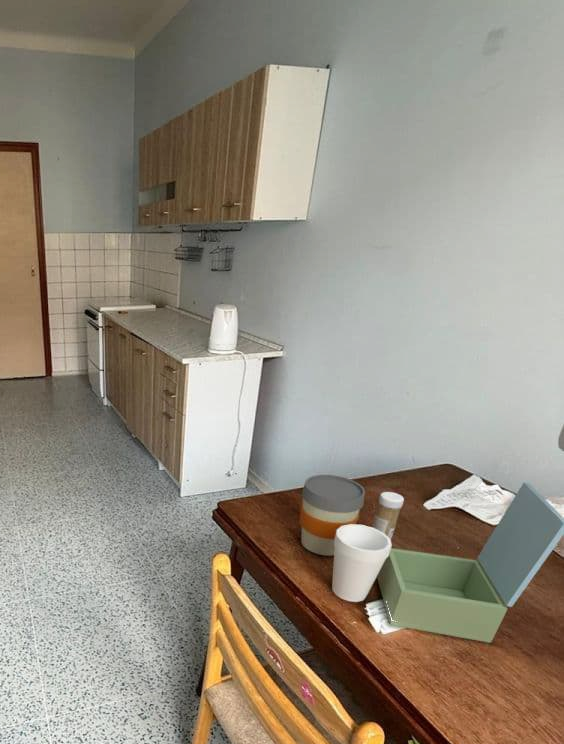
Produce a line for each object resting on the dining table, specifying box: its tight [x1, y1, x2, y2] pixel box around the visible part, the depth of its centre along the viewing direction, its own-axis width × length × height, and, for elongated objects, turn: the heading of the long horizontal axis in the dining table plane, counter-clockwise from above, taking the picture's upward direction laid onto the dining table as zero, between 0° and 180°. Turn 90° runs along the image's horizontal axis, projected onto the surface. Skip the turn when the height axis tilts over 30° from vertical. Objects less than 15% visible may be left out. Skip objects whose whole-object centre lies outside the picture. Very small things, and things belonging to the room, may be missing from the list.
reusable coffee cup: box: [299, 474, 366, 557], centre depth 106 cm, size 12×13×15 cm
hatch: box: [477, 481, 564, 608], centre depth 80 cm, size 17×14×1 cm
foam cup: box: [331, 523, 392, 603], centre depth 92 cm, size 10×9×13 cm
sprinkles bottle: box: [371, 491, 405, 540], centre depth 104 cm, size 5×5×14 cm
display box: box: [376, 547, 508, 644], centre depth 88 cm, size 16×14×8 cm
